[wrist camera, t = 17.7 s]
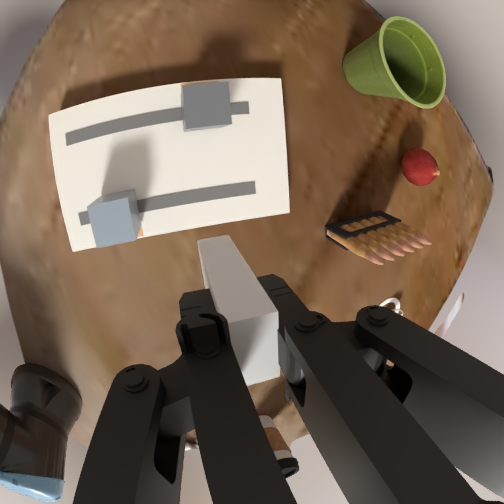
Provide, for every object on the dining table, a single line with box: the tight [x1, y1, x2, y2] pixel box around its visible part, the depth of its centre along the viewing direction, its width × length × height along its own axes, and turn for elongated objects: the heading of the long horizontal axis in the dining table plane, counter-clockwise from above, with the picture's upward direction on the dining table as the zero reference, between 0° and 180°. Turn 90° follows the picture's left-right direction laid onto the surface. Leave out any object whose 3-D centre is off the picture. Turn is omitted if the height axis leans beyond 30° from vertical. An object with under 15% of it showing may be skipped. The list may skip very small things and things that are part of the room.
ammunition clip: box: [325, 211, 432, 265], centre depth 34 cm, size 11×2×12 cm, turn 100°
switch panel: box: [49, 78, 290, 252], centre depth 28 cm, size 26×16×3 cm, turn 94°
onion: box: [401, 148, 440, 186], centre depth 35 cm, size 6×6×8 cm
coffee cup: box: [259, 415, 299, 478], centre depth 46 cm, size 8×8×15 cm
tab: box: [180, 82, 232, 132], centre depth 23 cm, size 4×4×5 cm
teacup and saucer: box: [379, 298, 403, 316], centre depth 49 cm, size 9×8×4 cm
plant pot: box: [343, 16, 446, 108], centre depth 26 cm, size 12×12×11 cm
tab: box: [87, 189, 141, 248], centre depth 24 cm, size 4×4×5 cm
